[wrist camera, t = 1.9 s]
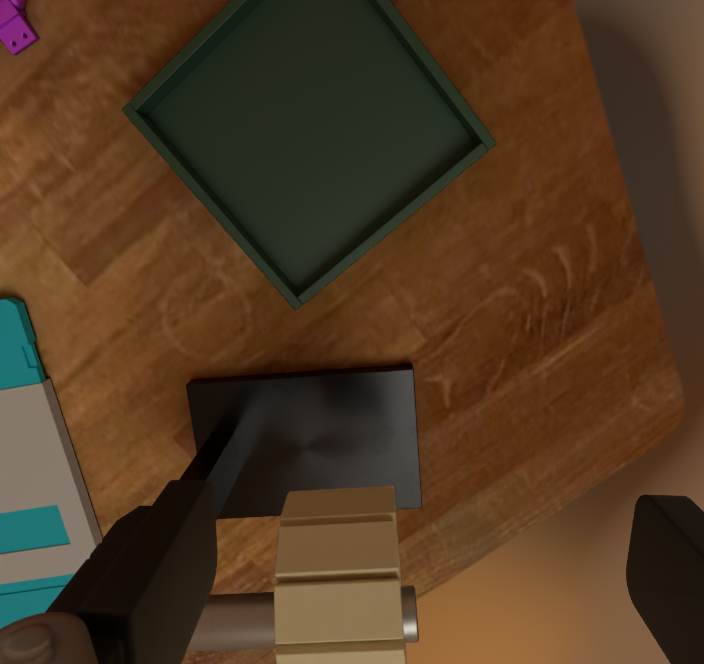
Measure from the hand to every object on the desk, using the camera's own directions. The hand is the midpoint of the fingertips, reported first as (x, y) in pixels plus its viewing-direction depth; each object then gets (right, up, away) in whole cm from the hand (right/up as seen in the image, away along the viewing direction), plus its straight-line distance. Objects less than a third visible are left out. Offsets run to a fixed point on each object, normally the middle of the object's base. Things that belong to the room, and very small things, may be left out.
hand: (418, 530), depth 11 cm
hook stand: (-4, -4, +28) cm, 29 cm away
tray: (-4, +16, +23) cm, 29 cm away
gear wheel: (-1, -7, +13) cm, 15 cm away
